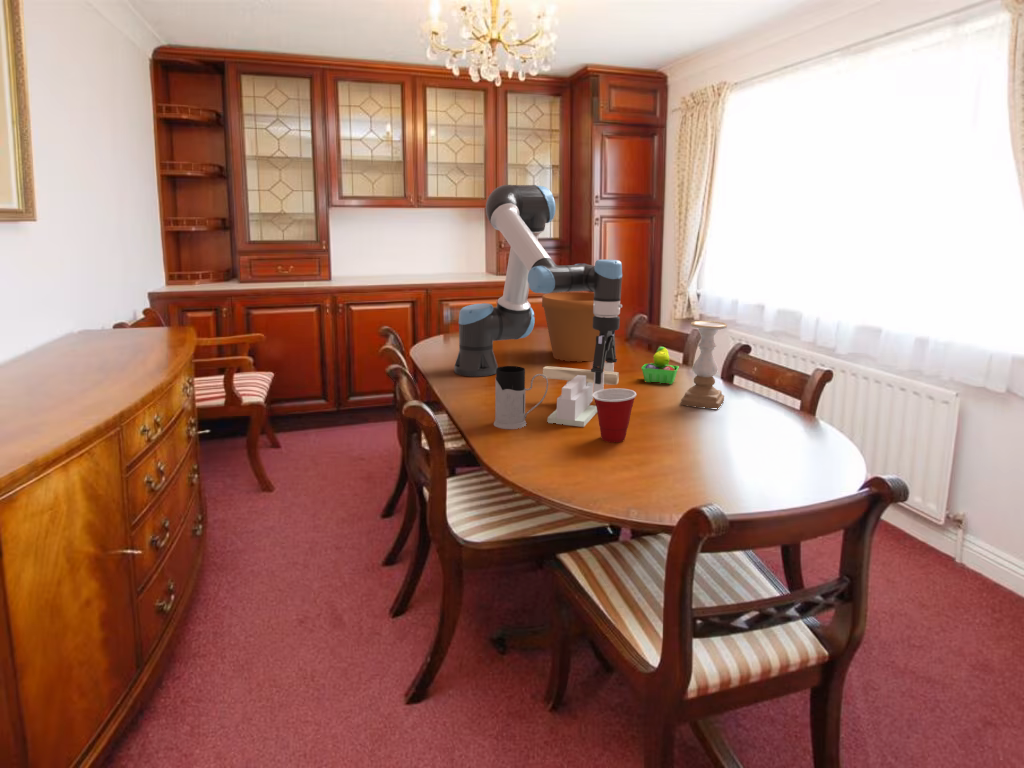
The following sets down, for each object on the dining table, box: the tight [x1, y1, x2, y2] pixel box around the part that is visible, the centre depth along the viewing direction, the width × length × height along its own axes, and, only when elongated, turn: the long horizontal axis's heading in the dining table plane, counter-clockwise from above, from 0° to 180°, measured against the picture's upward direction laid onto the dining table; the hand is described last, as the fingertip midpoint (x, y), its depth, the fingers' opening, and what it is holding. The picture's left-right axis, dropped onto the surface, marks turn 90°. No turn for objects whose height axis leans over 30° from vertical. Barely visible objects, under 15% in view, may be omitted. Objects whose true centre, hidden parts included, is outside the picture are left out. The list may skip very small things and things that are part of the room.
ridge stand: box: [546, 375, 598, 428], centre depth 189 cm, size 16×10×10 cm, turn 160°
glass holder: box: [493, 365, 549, 430], centre depth 182 cm, size 9×14×15 cm, turn 88°
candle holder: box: [680, 320, 728, 409], centre depth 203 cm, size 11×11×24 cm
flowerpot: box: [541, 291, 600, 363], centre depth 267 cm, size 28×28×24 cm
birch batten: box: [542, 365, 620, 386], centre depth 202 cm, size 3×22×3 cm, turn 70°
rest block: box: [565, 380, 594, 404], centre depth 203 cm, size 8×6×7 cm
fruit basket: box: [641, 346, 680, 385], centre depth 231 cm, size 11×9×11 cm
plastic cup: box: [592, 387, 637, 443], centre depth 171 cm, size 11×11×12 cm
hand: (603, 389), depth 201 cm, fingers open, 12 cm apart
